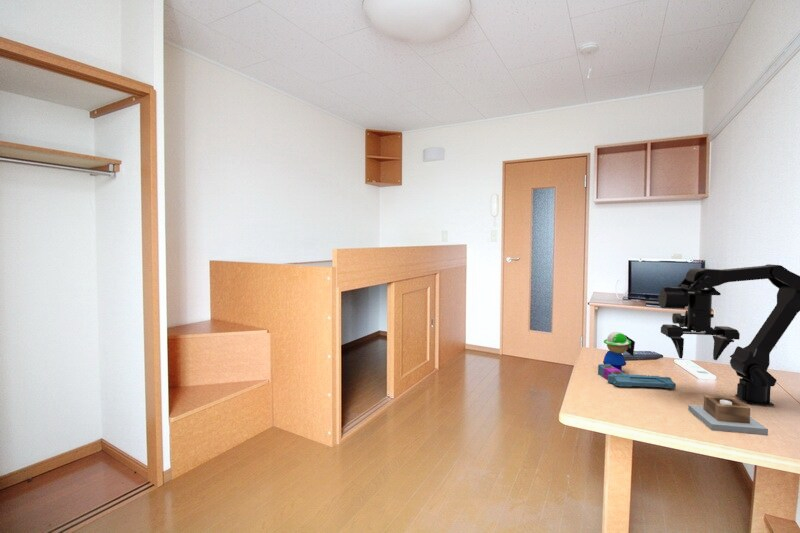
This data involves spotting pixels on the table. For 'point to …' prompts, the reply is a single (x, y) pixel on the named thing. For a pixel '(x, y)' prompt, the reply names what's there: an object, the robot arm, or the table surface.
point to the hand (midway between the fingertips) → (697, 359)
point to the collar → (726, 409)
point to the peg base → (727, 426)
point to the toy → (618, 349)
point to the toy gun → (633, 378)
